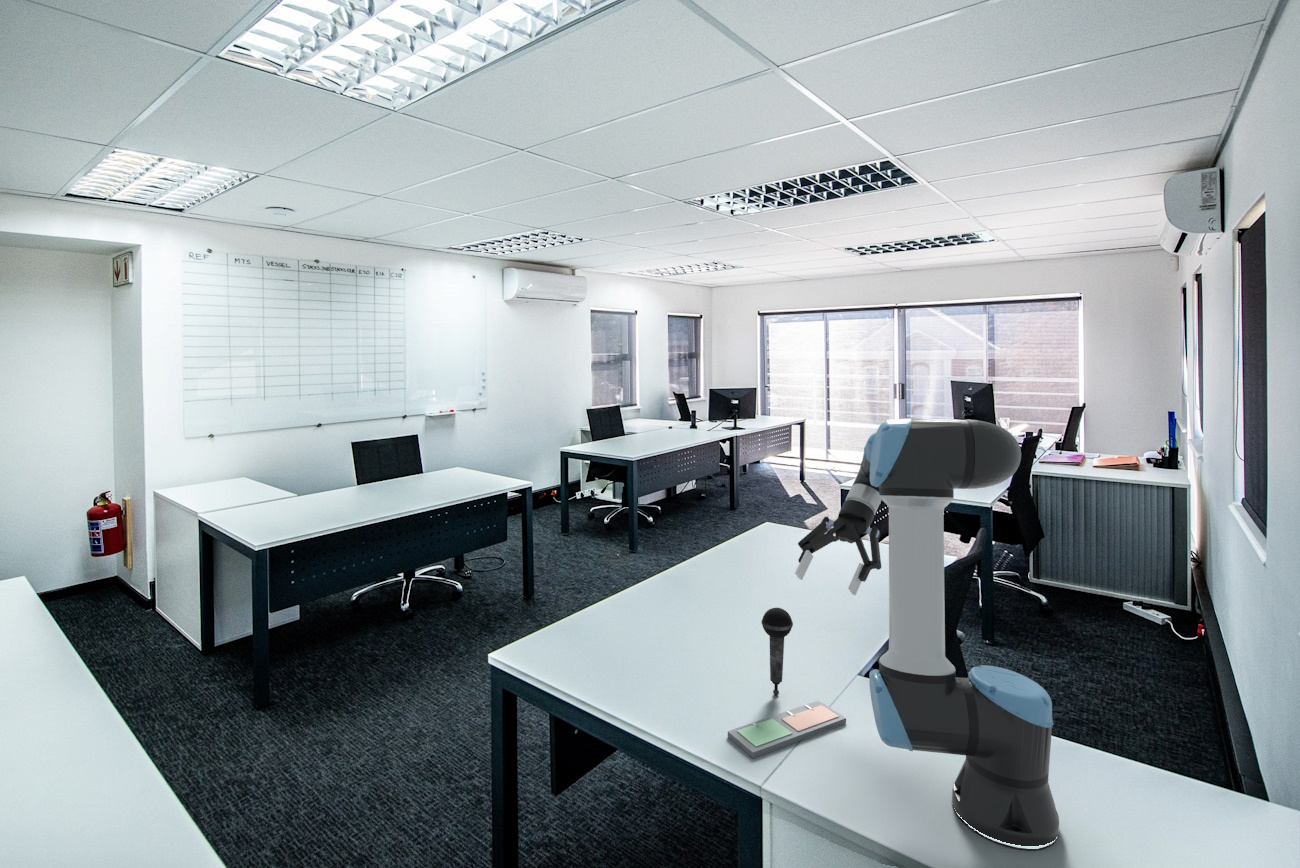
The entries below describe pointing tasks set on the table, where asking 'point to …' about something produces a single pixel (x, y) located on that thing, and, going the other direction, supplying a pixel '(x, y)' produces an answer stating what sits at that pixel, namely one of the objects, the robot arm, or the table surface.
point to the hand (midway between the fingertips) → (824, 584)
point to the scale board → (785, 728)
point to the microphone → (776, 641)
